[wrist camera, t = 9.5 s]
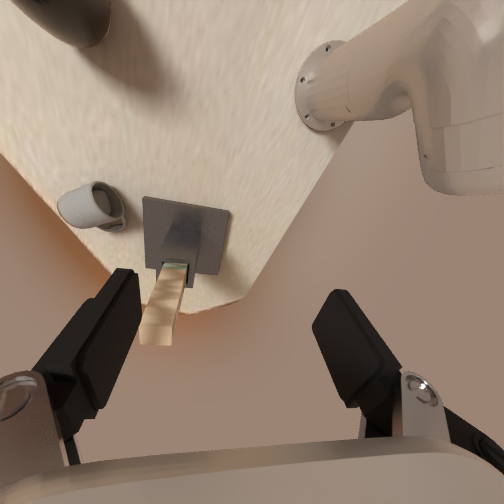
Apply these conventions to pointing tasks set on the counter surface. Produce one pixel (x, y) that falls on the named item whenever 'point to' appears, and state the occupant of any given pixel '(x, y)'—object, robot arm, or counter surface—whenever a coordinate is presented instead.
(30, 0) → the pump dispenser
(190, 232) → the stand
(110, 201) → the ceramic mug
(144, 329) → the post
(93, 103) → the counter surface
